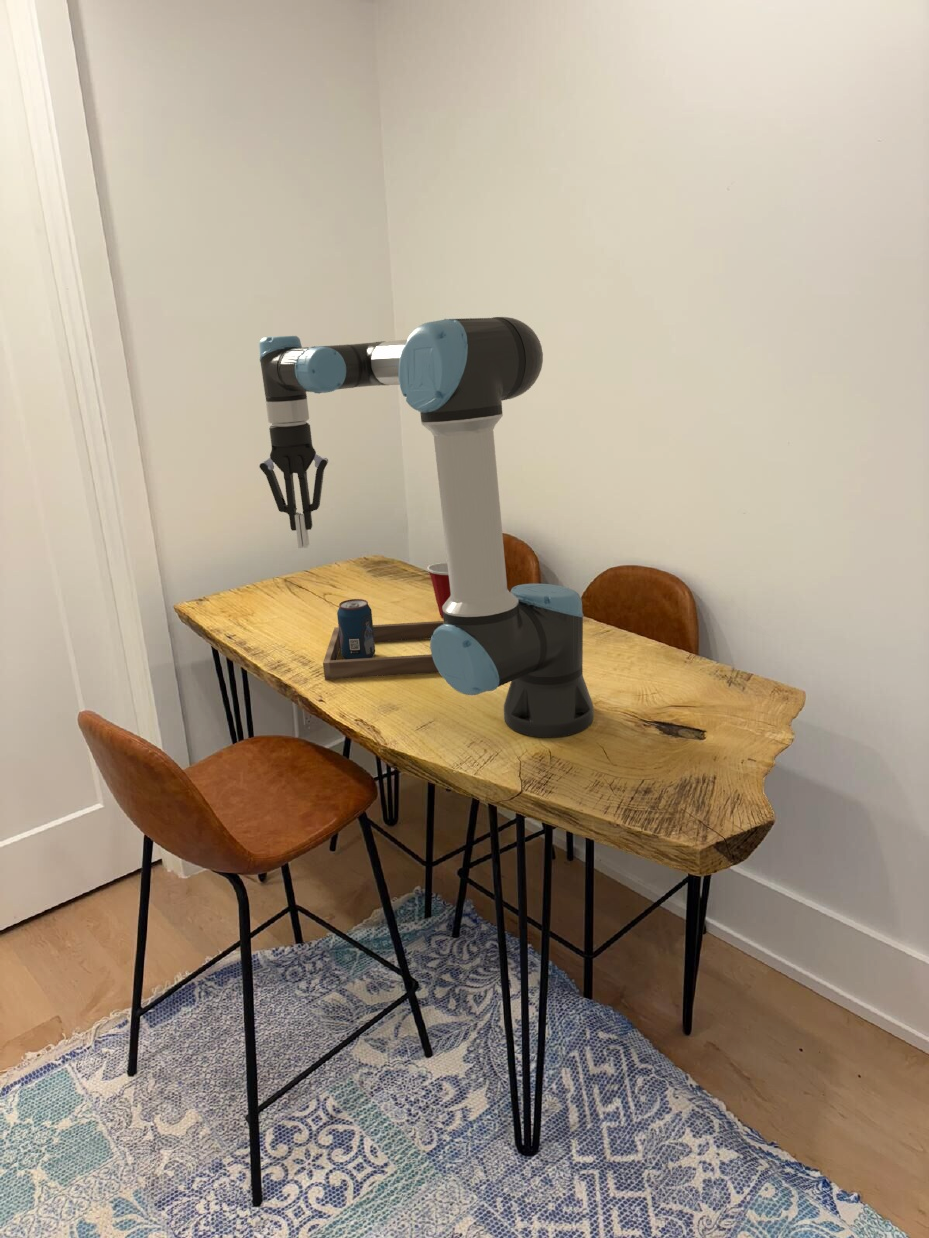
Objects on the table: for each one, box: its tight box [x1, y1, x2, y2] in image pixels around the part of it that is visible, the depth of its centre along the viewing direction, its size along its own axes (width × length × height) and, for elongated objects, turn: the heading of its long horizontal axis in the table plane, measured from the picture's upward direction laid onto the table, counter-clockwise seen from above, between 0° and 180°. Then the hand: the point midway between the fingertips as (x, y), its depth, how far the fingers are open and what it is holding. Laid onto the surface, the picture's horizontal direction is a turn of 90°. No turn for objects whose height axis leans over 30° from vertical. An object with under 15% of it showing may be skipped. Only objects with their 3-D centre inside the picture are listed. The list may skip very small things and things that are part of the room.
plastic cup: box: [426, 562, 451, 619], centre depth 192 cm, size 11×11×12 cm
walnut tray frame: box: [322, 620, 444, 681], centre depth 172 cm, size 20×25×4 cm
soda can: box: [336, 598, 376, 660], centre depth 170 cm, size 7×7×12 cm
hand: (303, 545), depth 164 cm, fingers closed
